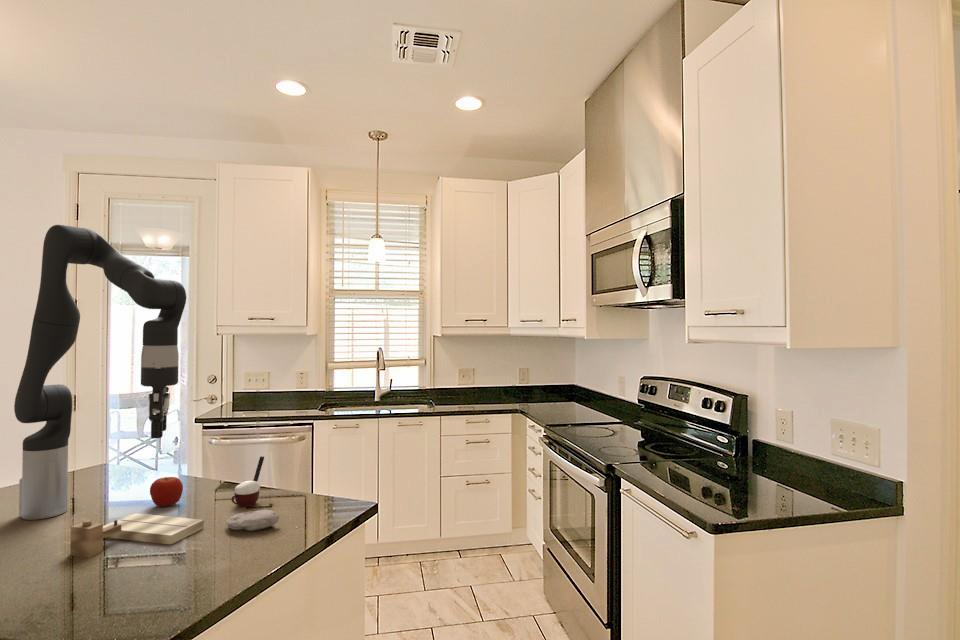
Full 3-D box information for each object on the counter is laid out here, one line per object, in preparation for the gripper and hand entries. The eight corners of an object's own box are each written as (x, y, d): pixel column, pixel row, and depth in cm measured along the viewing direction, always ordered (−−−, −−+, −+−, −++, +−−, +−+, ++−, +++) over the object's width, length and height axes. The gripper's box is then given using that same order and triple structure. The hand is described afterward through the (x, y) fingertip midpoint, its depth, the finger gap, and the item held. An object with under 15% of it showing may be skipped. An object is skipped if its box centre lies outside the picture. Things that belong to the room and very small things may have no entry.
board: (98, 536, 124) (98, 527, 124) (134, 521, 134) (134, 513, 134) (171, 544, 120) (171, 535, 120) (203, 528, 130) (203, 519, 130)
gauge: (70, 555, 114) (70, 523, 114) (108, 539, 123) (108, 509, 123) (89, 557, 113) (90, 524, 113) (126, 541, 122) (126, 510, 122)
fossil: (216, 514, 128) (250, 504, 137) (216, 532, 128) (250, 521, 137) (254, 518, 124) (286, 507, 133) (254, 537, 123) (286, 525, 132)
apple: (159, 512, 141) (159, 482, 141) (143, 506, 145) (143, 477, 145) (188, 503, 147) (188, 475, 148) (172, 499, 152) (172, 471, 152)
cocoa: (233, 511, 142) (231, 467, 142) (227, 504, 147) (226, 461, 147) (270, 503, 148) (269, 460, 148) (264, 496, 153) (262, 455, 153)
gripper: (145, 363, 130) (144, 430, 130) (136, 367, 117) (135, 441, 117) (180, 362, 133) (179, 427, 133) (175, 366, 121) (174, 439, 120)
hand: (158, 434), depth 125 cm, fingers open, 8 cm apart
